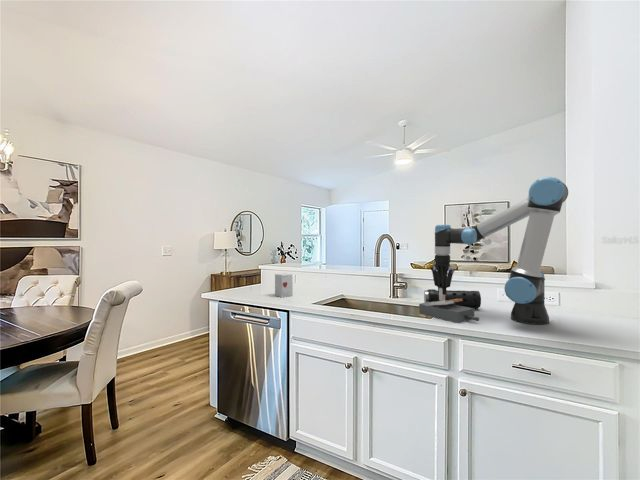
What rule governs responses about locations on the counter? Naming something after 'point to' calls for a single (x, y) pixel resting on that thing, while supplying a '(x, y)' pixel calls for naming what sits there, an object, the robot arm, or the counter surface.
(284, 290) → the supplement box
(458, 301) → the orange slotted plate
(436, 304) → the light grey flat plate
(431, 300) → the muzzle brake
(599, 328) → the counter surface
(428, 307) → the switch module
